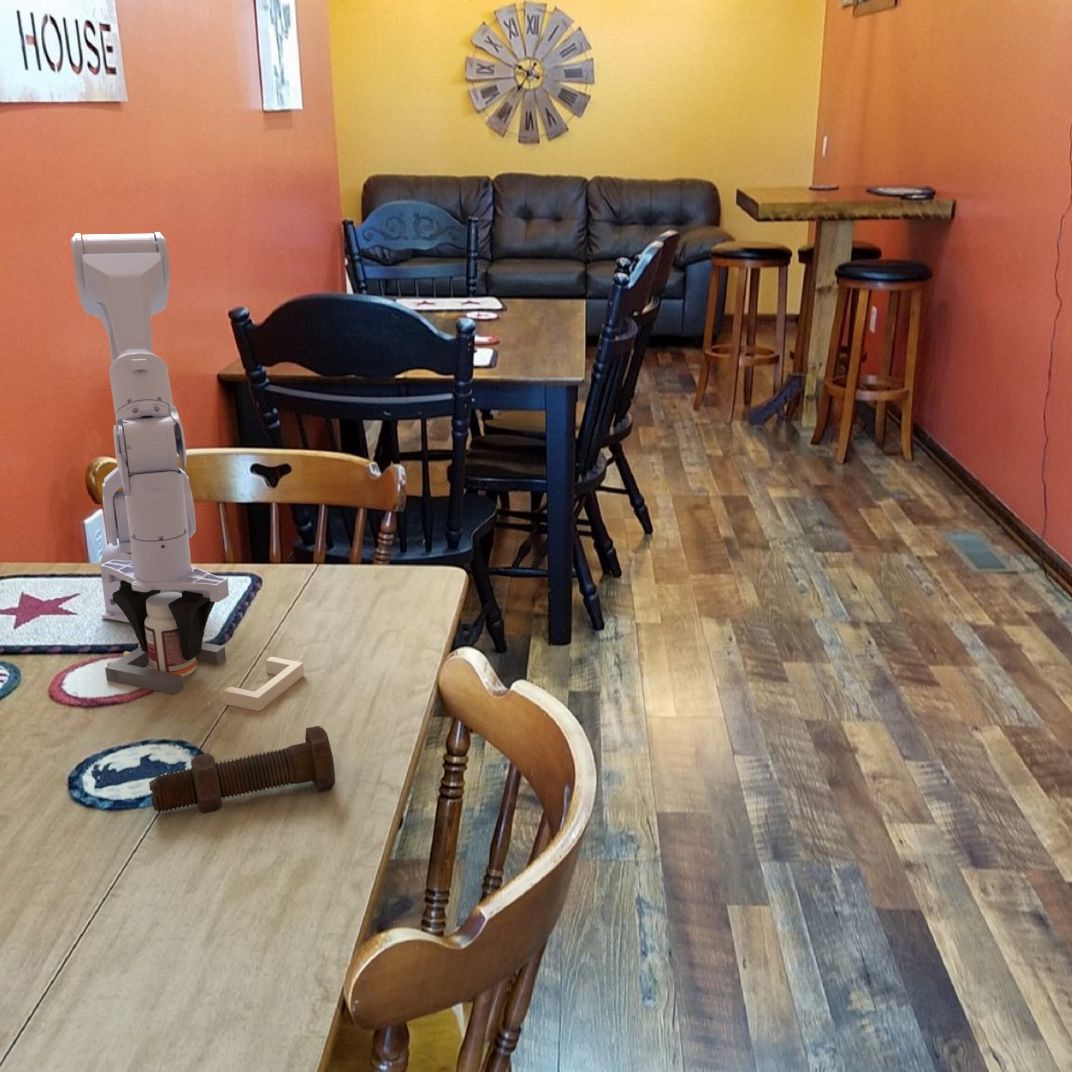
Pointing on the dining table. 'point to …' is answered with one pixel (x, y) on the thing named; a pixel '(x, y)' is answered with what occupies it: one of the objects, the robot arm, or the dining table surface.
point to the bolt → (246, 775)
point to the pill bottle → (165, 637)
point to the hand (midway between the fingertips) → (171, 652)
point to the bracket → (267, 685)
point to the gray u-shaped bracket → (135, 675)
